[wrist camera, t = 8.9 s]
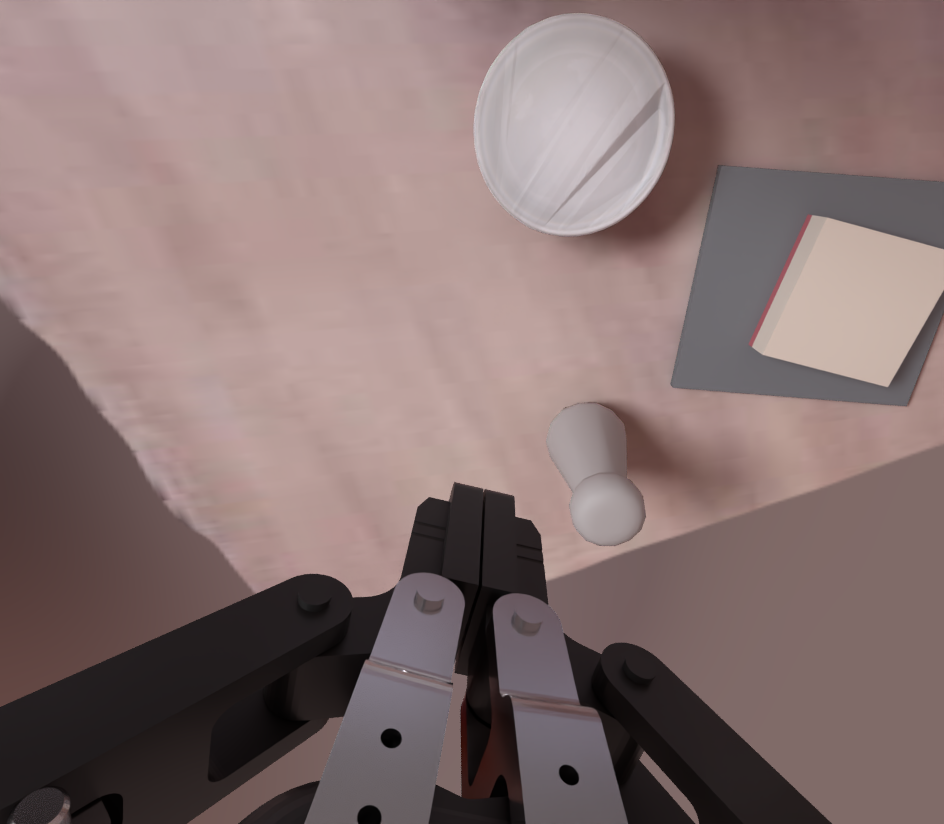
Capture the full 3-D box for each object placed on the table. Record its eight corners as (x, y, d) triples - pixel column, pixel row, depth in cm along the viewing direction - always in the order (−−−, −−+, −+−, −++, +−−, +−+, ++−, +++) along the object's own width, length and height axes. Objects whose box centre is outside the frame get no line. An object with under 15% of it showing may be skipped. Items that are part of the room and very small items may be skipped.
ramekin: (628, 240, 39) (646, 250, 34) (465, 214, 39) (460, 221, 34) (674, 49, 35) (703, 30, 30) (491, 19, 35) (489, -5, 30)
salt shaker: (623, 391, 43) (669, 477, 31) (617, 459, 46) (659, 564, 34) (544, 392, 44) (561, 478, 32) (543, 460, 46) (558, 563, 34)
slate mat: (718, 165, 37) (721, 165, 36) (986, 185, 37) (993, 185, 36) (670, 384, 43) (672, 387, 42) (901, 403, 43) (906, 406, 42)
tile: (762, 354, 39) (887, 387, 39) (827, 217, 35) (963, 255, 36) (748, 344, 41) (867, 375, 41) (807, 214, 37) (936, 249, 38)
